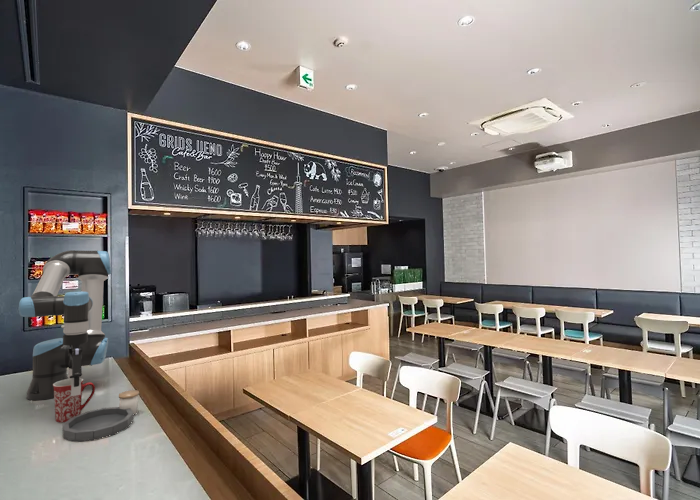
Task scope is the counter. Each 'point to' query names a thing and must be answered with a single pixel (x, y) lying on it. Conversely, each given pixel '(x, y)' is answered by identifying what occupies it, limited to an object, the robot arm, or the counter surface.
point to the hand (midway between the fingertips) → (74, 390)
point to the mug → (68, 400)
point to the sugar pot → (129, 400)
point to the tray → (97, 424)
